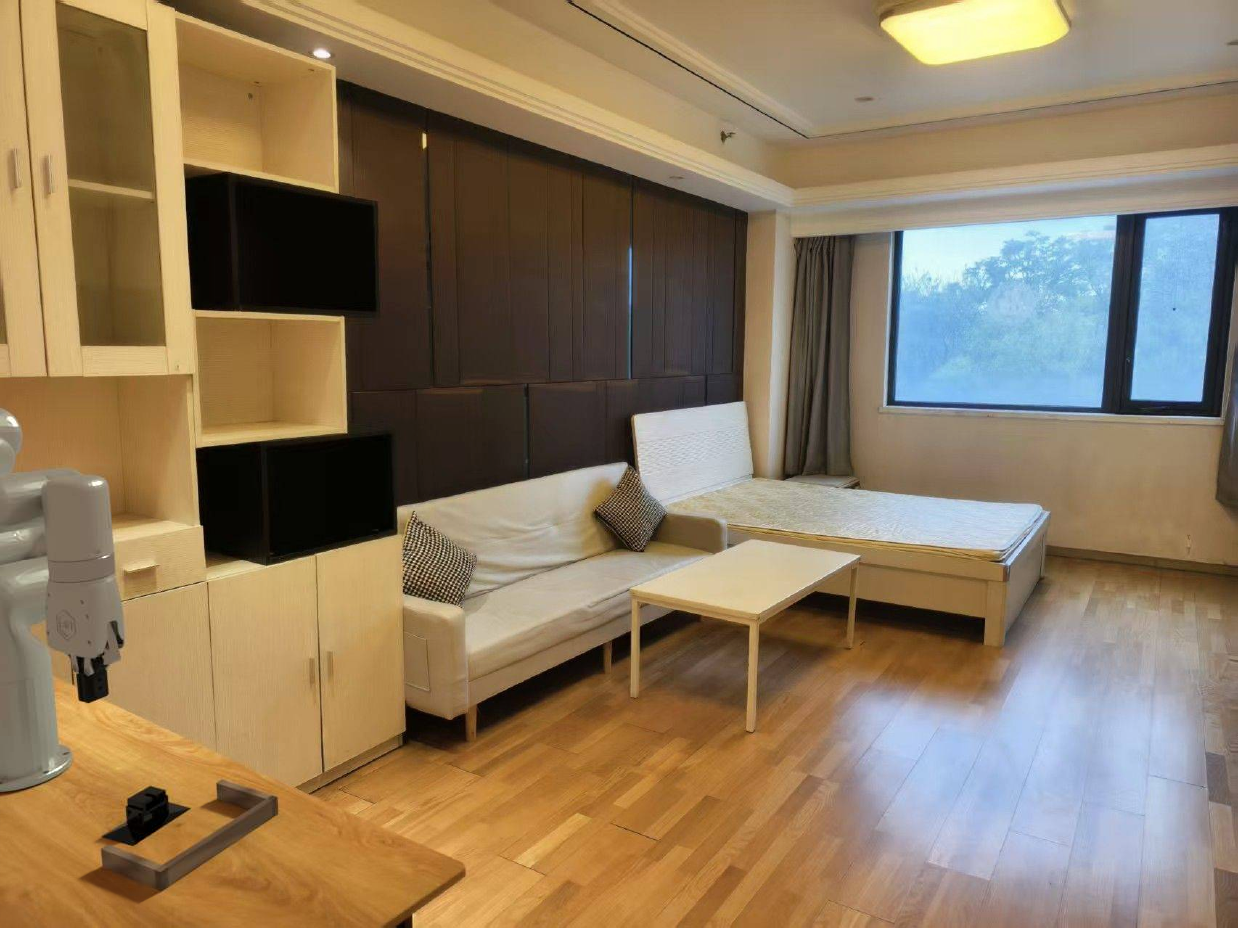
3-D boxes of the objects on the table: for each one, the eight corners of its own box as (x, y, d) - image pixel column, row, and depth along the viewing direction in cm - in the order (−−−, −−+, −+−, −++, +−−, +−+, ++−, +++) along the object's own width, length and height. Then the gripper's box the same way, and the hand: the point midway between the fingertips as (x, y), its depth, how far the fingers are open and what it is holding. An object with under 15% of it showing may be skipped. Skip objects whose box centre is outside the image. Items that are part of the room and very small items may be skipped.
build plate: (127, 858, 107) (124, 825, 106) (85, 845, 110) (82, 812, 109) (205, 807, 119) (203, 776, 118) (166, 796, 121) (163, 766, 120)
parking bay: (102, 867, 104) (100, 848, 104) (222, 795, 121) (222, 779, 120) (161, 891, 100) (160, 871, 100) (278, 813, 116) (277, 796, 116)
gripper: (17, 568, 112) (30, 699, 115) (92, 582, 106) (104, 720, 109) (73, 555, 119) (84, 679, 121) (147, 568, 113) (156, 698, 115)
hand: (93, 698), depth 115 cm, fingers closed
